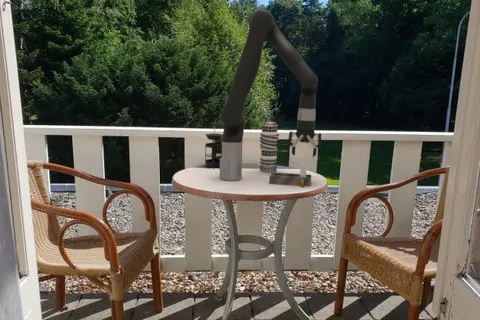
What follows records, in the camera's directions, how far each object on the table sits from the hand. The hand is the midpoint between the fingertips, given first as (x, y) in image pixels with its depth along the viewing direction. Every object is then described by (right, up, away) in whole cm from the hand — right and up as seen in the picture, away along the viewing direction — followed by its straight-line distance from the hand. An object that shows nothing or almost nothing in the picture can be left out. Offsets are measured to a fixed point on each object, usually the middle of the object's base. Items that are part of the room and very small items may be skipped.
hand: (303, 155), depth 184 cm
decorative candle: (-14, -8, +23) cm, 28 cm away
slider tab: (0, -11, +2) cm, 11 cm away
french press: (-41, -6, +33) cm, 53 cm away
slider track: (-6, -12, +3) cm, 14 cm away
